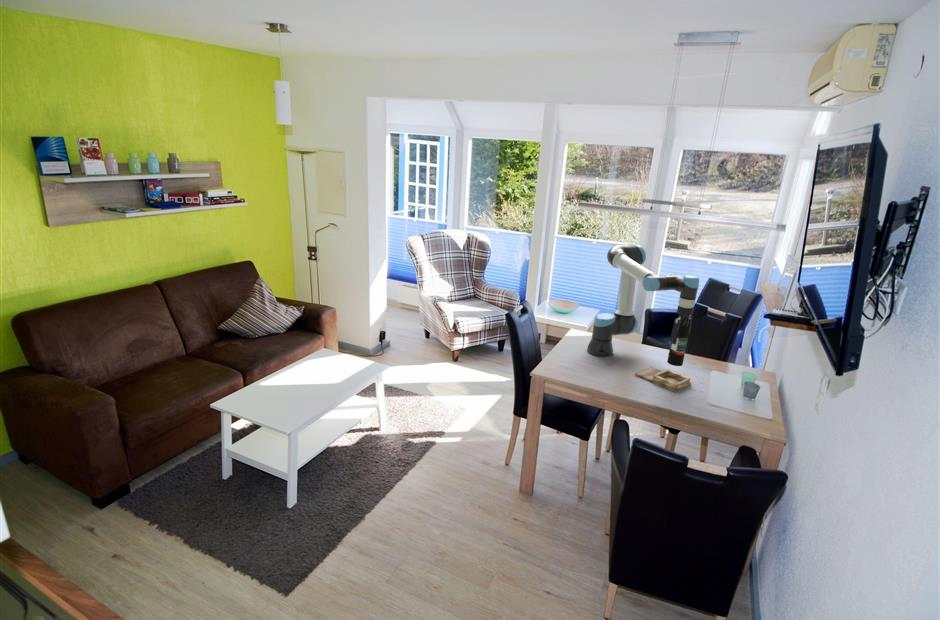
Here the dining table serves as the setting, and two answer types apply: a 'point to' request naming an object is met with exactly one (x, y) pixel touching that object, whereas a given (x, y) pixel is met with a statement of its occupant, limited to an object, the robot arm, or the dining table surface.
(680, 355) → the wine bottle
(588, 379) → the dining table surface
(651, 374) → the board
